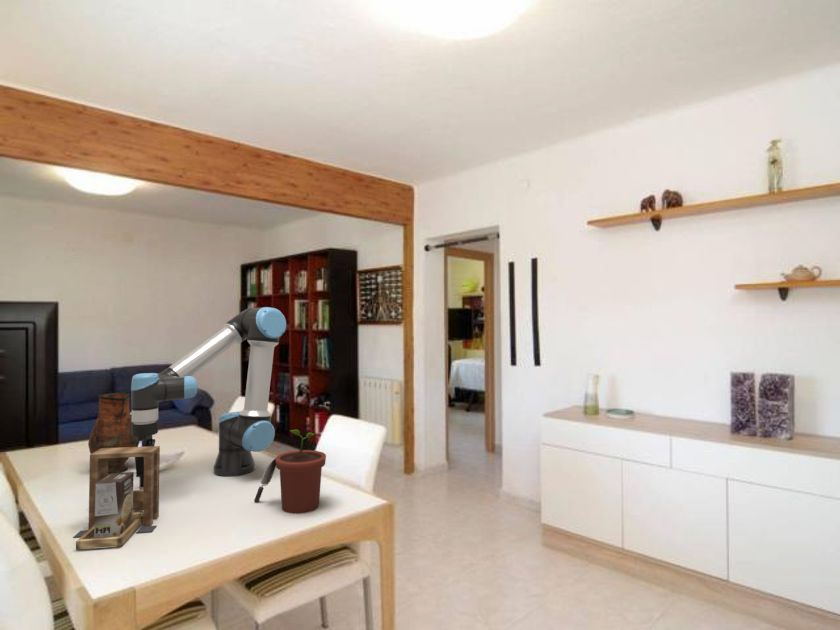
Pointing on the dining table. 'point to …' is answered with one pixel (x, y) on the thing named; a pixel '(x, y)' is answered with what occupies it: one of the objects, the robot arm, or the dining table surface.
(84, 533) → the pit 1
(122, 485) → the coffee box
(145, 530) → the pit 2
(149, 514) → the brown open upright frame
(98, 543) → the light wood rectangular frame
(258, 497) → the potted plant
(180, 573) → the dining table surface
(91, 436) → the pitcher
